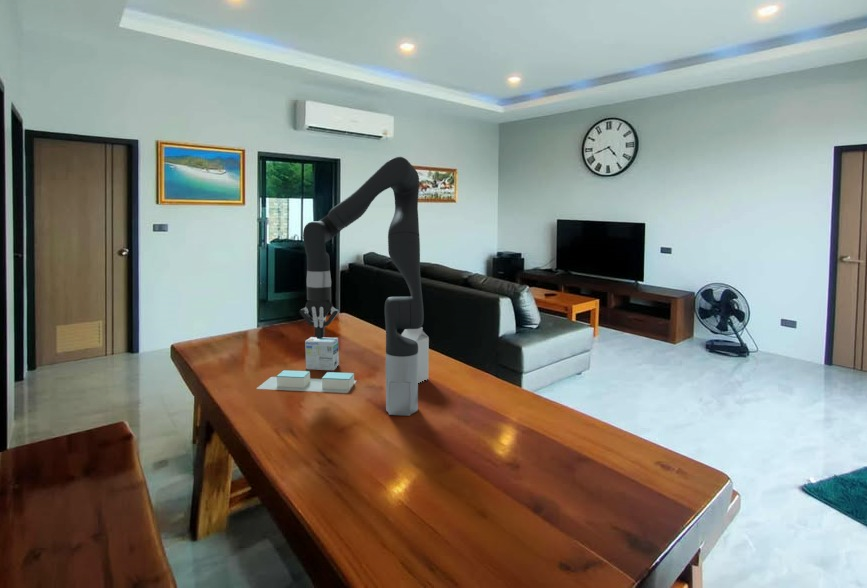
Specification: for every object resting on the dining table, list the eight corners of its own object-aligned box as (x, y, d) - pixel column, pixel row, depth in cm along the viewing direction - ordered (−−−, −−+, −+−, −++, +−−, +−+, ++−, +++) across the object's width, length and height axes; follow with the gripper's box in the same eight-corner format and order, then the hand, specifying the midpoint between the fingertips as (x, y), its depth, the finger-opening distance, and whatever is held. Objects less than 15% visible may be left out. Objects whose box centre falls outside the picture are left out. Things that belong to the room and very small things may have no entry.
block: (322, 388, 166) (349, 389, 165) (321, 377, 166) (349, 379, 165) (327, 382, 172) (354, 383, 171) (327, 372, 171) (354, 373, 171)
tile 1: (277, 386, 168) (304, 387, 167) (276, 376, 167) (303, 377, 166) (284, 380, 173) (310, 381, 173) (283, 370, 173) (309, 371, 172)
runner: (347, 393, 162) (347, 392, 162) (256, 389, 165) (256, 388, 165) (357, 380, 174) (356, 380, 174) (271, 377, 177) (271, 376, 177)
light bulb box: (339, 365, 191) (338, 337, 189) (334, 371, 185) (333, 341, 183) (311, 364, 192) (310, 336, 190) (305, 369, 186) (304, 340, 184)
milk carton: (415, 385, 170) (415, 329, 167) (399, 381, 175) (399, 326, 171) (428, 379, 176) (429, 325, 173) (412, 375, 180) (412, 322, 177)
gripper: (294, 286, 160) (295, 340, 162) (336, 286, 159) (337, 341, 162) (302, 283, 167) (303, 335, 170) (342, 283, 166) (343, 336, 169)
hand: (320, 338), depth 166 cm, fingers closed
